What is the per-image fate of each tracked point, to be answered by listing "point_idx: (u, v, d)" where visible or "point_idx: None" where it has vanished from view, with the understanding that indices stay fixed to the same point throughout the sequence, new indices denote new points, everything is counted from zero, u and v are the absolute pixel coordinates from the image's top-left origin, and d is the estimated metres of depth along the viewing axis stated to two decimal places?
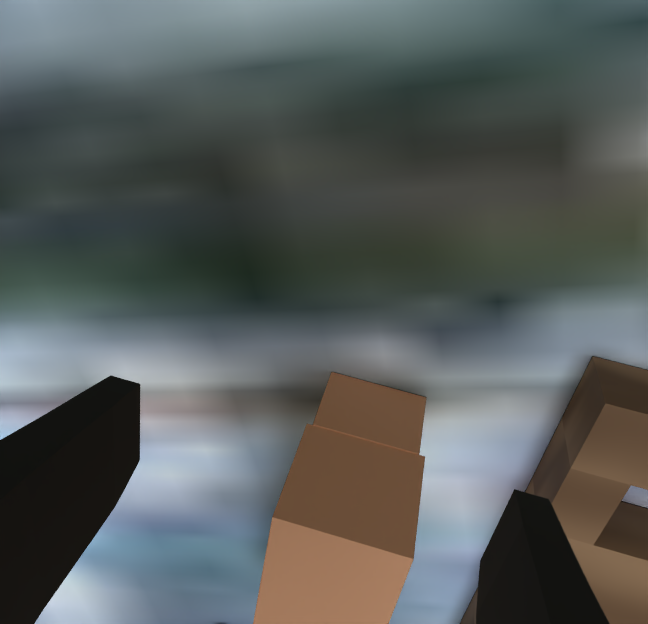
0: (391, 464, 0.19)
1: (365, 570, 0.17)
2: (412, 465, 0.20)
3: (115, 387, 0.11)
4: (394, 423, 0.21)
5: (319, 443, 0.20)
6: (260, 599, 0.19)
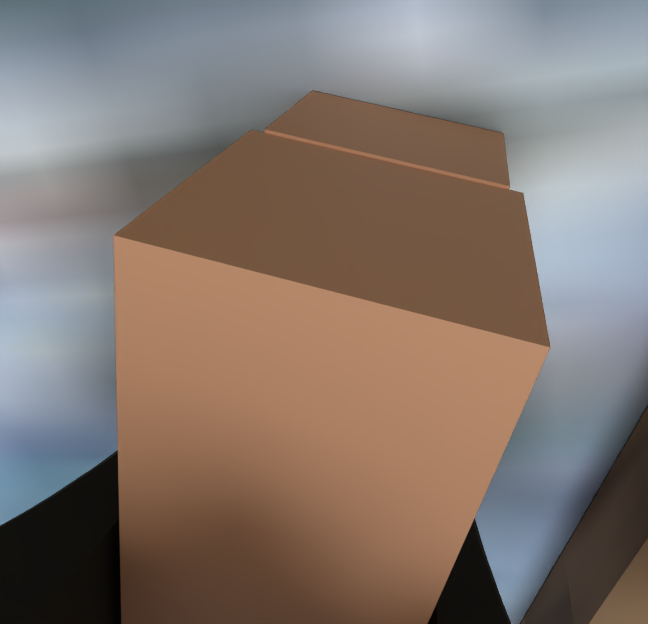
0: (448, 193, 0.08)
1: (394, 406, 0.06)
2: (498, 200, 0.08)
3: None
4: (445, 148, 0.10)
5: (276, 152, 0.08)
6: (126, 516, 0.08)
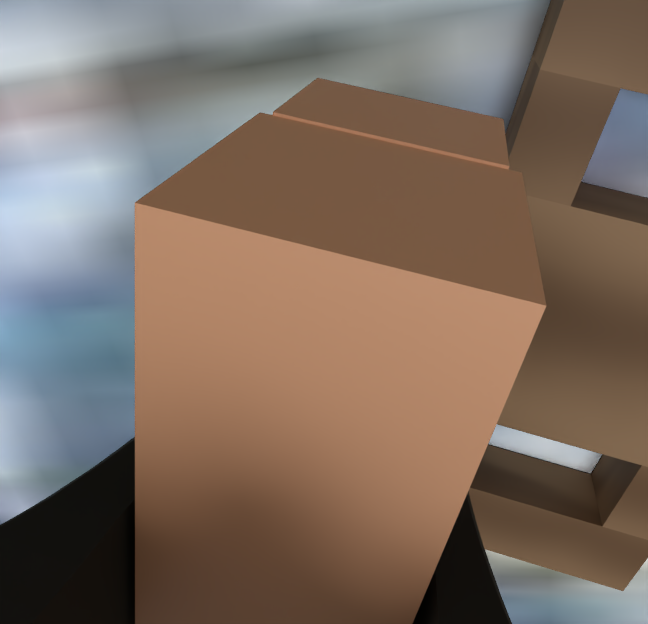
0: (450, 172, 0.08)
1: (399, 367, 0.06)
2: (498, 178, 0.09)
3: None
4: (447, 131, 0.10)
5: (284, 133, 0.09)
6: (141, 479, 0.08)
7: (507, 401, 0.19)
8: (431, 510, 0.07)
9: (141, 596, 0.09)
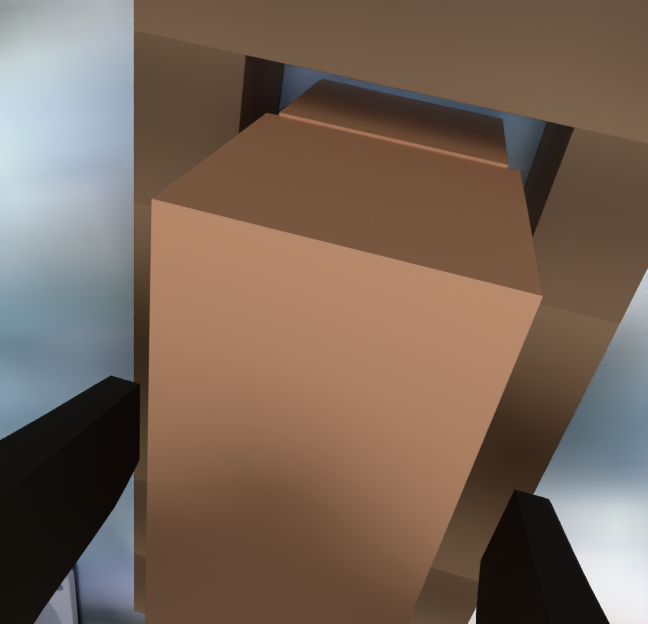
0: (451, 170, 0.09)
1: (402, 355, 0.07)
2: (497, 176, 0.09)
3: (115, 387, 0.11)
4: (448, 131, 0.10)
5: (291, 133, 0.09)
6: (153, 466, 0.08)
7: None
8: (433, 494, 0.07)
9: (151, 581, 0.10)
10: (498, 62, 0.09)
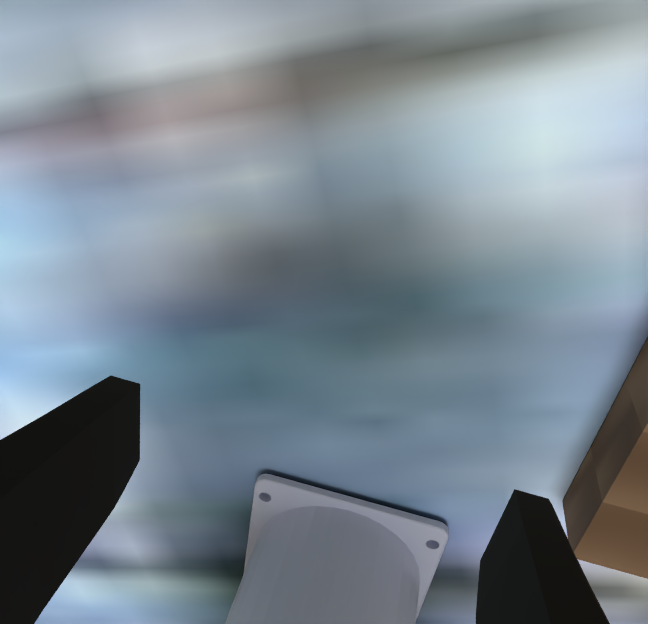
0: None
1: None
2: None
3: (115, 387, 0.11)
4: None
5: None
6: None
7: None
8: None
9: None
10: None
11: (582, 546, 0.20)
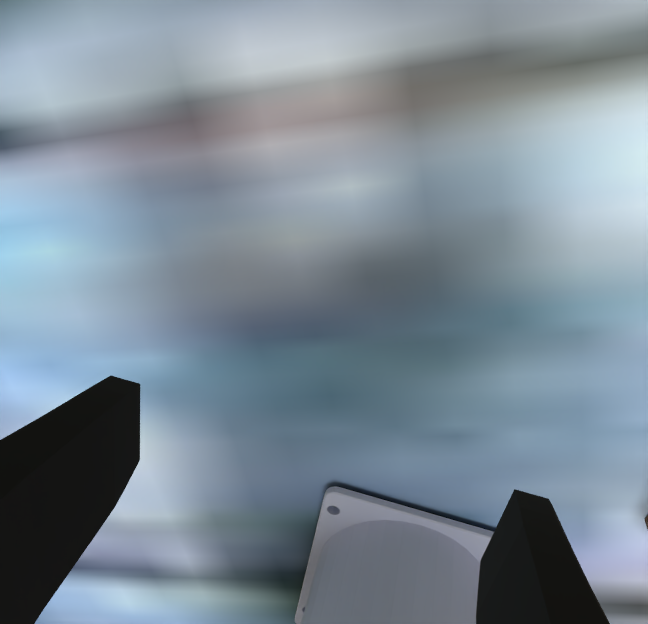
0: None
1: None
2: None
3: (115, 387, 0.11)
4: None
5: None
6: None
7: None
8: None
9: None
10: None
11: None
